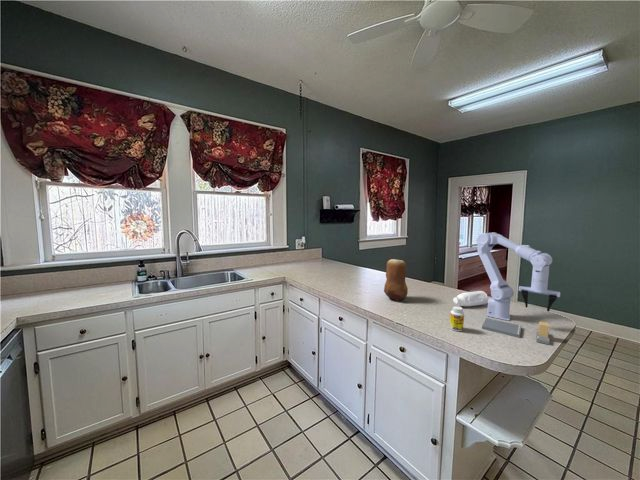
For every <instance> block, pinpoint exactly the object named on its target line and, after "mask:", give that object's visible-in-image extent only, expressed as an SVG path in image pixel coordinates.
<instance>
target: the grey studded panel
mask: <svg viewBox="0 0 640 480" xmlns="http://www.w3.org/2000/svg"><path fill="white" fill-rule="evenodd" d="M481 329H483V330H486V331H490V332H494V333H497V334H498V333H499V334H502V335H506V336H511V337H514V338H519V339H520V338H521V332H522V325H520V324H515V323H510V322H506V321H502V320H497V319H492V318H489V317H486V318H485V319H484V321H483V323H482V326H481Z"/></svg>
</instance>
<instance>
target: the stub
mask: <svg viewBox="0 0 640 480" xmlns="http://www.w3.org/2000/svg"><path fill="white" fill-rule="evenodd" d="M538 324H539V326H538V328H536V342H537V343H541V344H545V345H550V331H549V329H550V325H549V323H548V322H544V321H539V323H538Z"/></svg>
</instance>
